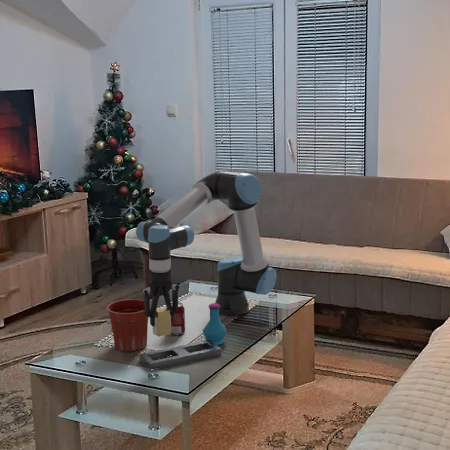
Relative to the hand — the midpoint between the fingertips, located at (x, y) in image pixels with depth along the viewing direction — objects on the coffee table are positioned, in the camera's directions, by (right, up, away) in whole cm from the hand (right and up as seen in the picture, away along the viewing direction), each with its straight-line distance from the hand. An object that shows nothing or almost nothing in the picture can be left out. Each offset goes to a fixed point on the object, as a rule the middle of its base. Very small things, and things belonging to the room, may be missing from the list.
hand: (162, 332), depth 251 cm
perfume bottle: (+19, -7, +21) cm, 29 cm away
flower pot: (-14, -8, +18) cm, 24 cm away
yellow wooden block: (0, 0, 0) cm, 0 cm away
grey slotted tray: (+6, -10, +6) cm, 13 cm away
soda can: (+3, -5, +31) cm, 31 cm away
